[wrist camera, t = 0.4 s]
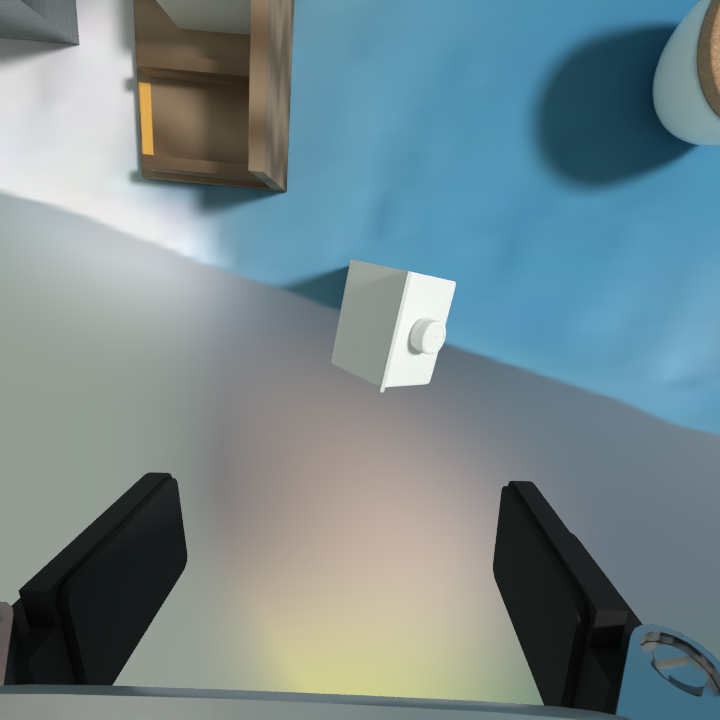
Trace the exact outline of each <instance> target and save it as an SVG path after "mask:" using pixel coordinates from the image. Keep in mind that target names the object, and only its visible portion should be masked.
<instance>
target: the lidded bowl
mask: <svg viewBox="0 0 720 720" xmlns="http://www.w3.org/2000/svg"><path fill="white" fill-rule="evenodd" d="M653 102H654V108H655V111H656V114H657V116H658V118H659V120H660V122H661V123H662V124H663V126H664V127H665V128H666V129H667V130H668V131H669V132H670V133H671V134H672V135H674V136H676V137H677V138H679V139H681V140H683V141H685V142H688V143H691V144H696V145H703V146H720V0H698V1H697V2H696V3H695V5H694V6H693V7H692V8H691V10H690V11H689V12H688V13H687V15H686V16H685V17H684V18H683V19H682V21H681V22H680V23H679V24H678V26H677V27H676V29H675V30H674V32H673V34H672V35H671V37H670V39H669V40H668V42H667V44H666V45H665V47H664V50H663V52H662V54H661V56H660V59H659V62H658V65H657V68H656V71H655V76H654V81H653Z"/></svg>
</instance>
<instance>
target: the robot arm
mask: <svg viewBox="0 0 720 720" xmlns="http://www.w3.org/2000/svg"><path fill="white" fill-rule="evenodd" d="M501 493H502V494H501V501H500V510H499V518H498V526H497V535H496V544H495V553H494V562H493V572H494V577H495V580H496V583H497V586H498V588H499V591H500V593H501V596H502V598H503V601H504V604H505V606H506V609H507V611H508V614H509V616H510V619H511V622H512V624H513V626H514V629H515V632H516V634H517V637H518V639H519V642H520V645H521V647H522V650H523V652H524V655H525V657H526V660H527V662H528V665H529V667H530V670H531V672H532V675H533V677H534V680H535V683H536V685H537V688H538V691H539V693H540V696H541V698H542V701H543V703H544V706H543V705H529V704H514V703H499V702H485V701H467V700H466V701H465V700H447V699H426V698H405V697H384V696H364V695H340V694H317V693H293V692H269V691H245V690H221V689H220V690H219V689H193V688H192V689H191V688H164V687H134V686H112V685H113V683H114V682H115V680H116V678H117V677H118V675H119V674H120V672H121V670H122V669H123V667H124V665H125V664H126V662H127V661H128V659H129V658H130V656H131V654H132V653H133V651H134V649H135V648H136V646H137V645H138V643H139V641H140V639H141V638H142V637H143V635H144V633H145V632H146V630H147V629H148V627H149V625H150V624H151V622H152V620H153V618H154V617H155V616H156V614H157V612H158V611H159V609H160V607H161V606H162V604H163V603H164V601H165V600H166V598H167V596H168V595H169V593H170V591H171V590H172V588H173V587H174V585H175V583H176V582H177V580H178V578H179V577H180V575H181V574H182V572H183V570H184V569H185V566H186V562H187V550H186V542H185V534H184V527H183V520H182V512H181V505H180V497H179V490H178V483H177V480H176V479H175V478H172V476H171V474H169V473H147V474H145V475H144V476H143V477H142V478H141V479H140V480H139V481H138V482H136V483H135V484H134V485H133V486H132V487H131V488H130V489H129V490H128V491H127V492H126V493H124V494H123V495H122V496H121V497H120V498H119V499H118V500H117V501H116V502H115V503H113V504H112V505H111V506H110V507H109V508H108V509H107V510H106V511H105V512H104V513H103V514H102V515H100V516H99V517H98V518H97V519H96V520H95V521H94V522H93V523H92V524H91V525H90V526H88V527H87V528H86V529H85V530H84V531H83V532H82V533H81V534H80V535H79V536H78V537H76V538H75V539H74V540H73V541H72V542H71V543H70V544H69V545H68V546H67V547H66V548H64V549H63V550H62V551H61V552H60V553H59V554H58V555H57V556H56V557H55V558H53V559H52V560H51V561H50V562H49V563H48V564H47V565H46V566H45V567H44V568H43V569H41V571H39V572H38V573H37V574H36V575H35V576H34V577H33V578H32V579H31V580H30V581H28V582H27V583H26V584H25V585H24V586H23V587H22V588H21V589H20V590H19V594H20V597H21V598H19V599H18V600H17V601H16V602H15V603H14V604H13V605H12V606H11V605H9V604H8V603H6V602H0V720H720V662H719V661H718V660H717V659H716V658H715V657H714V656H713V655H712V654H711V653H710V652H709V651H707V650H706V649H705V648H704V647H702V646H701V645H700V644H698V643H697V642H696V641H694V640H692V639H691V638H689V637H687V636H685V635H683V634H682V633H680V632H677V631H675V630H673V629H670V628H668V627H664V626H659V625H655V624H646V625H643V624H642V623H641V622H640V621H639V619H638V618H637V617H636V615H635V614H634V613H633V611H632V610H631V609H630V607H629V606H628V605H627V603H626V602H625V601H624V599H623V598H622V597H621V595H620V594H619V593H618V592H617V590H616V589H615V587H614V586H613V585H612V583H611V582H610V581H609V579H608V578H607V577H606V575H605V574H604V573H603V571H602V570H601V569H600V567H599V566H598V565H597V563H596V562H595V561H594V560H593V558H592V557H591V556H590V554H589V553H588V552H587V550H586V549H585V548H584V546H583V545H582V544H581V542H580V541H579V540H578V538H577V537H576V536H575V535H574V534H572V533H570V532H569V530H568V529H567V528H566V526H565V525H564V524H563V522H562V521H561V520H560V518H559V517H558V515H557V514H556V513H555V511H554V510H553V509H552V507H551V506H550V505H549V503H548V502H547V501H546V499H545V498H544V497H543V495H542V494H541V493H540V491H539V490H538V488H537V487H536V486H535V484H534V483H533V482H530V481H510V482H509V484H508V486H504V487H503V488H502V492H501Z"/></svg>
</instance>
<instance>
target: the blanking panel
mask: <svg viewBox="0 0 720 720" xmlns="http://www.w3.org/2000/svg"><path fill="white" fill-rule="evenodd" d="M0 38H8V39H19V40H30V41H40V42H51V43H62V44H73V45H79V35H78V23H77V11H76V0H0Z"/></svg>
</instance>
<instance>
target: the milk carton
mask: <svg viewBox="0 0 720 720" xmlns="http://www.w3.org/2000/svg"><path fill="white" fill-rule="evenodd" d="M455 285H456V282H454V281H450V280H445V279H441V278H436V277H431V276H427V275H422V274H418V273H413V272H410V271H404V270H399V269H395V268H390V267H385V266H380V265H375V264H370V263H366V262H361V261H356V260H351V262H350V266H349V270H348V275H347V280H346V286H345V291H344V296H343V301H342V306H341V312H340V317H339V322H338V327H337V332H336V337H335V343H334V348H333V353H332V360H331V363H332V364H334V365H336V366H338V367H340V368H342V369H344V370H346V371H348V372H350V373H352V374H355V375H357V376H359V377H361V378H363V379H365V380H367V381H369V382H371V383H373V384H375V385H378V386H380V392H384V389H385V387H393V386H405V385H419V384H428V383H429V382H430V379H431V375H432V372H433V369H434V365H435V361H436V357H437V354H438V351H439V349H440V348H441V347H442V345H443V343H444V340H445V336H446V329H445V324H446V320H447V317H448V313H449V309H450V305H451V302H452V298H453V294H454V290H455Z"/></svg>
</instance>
